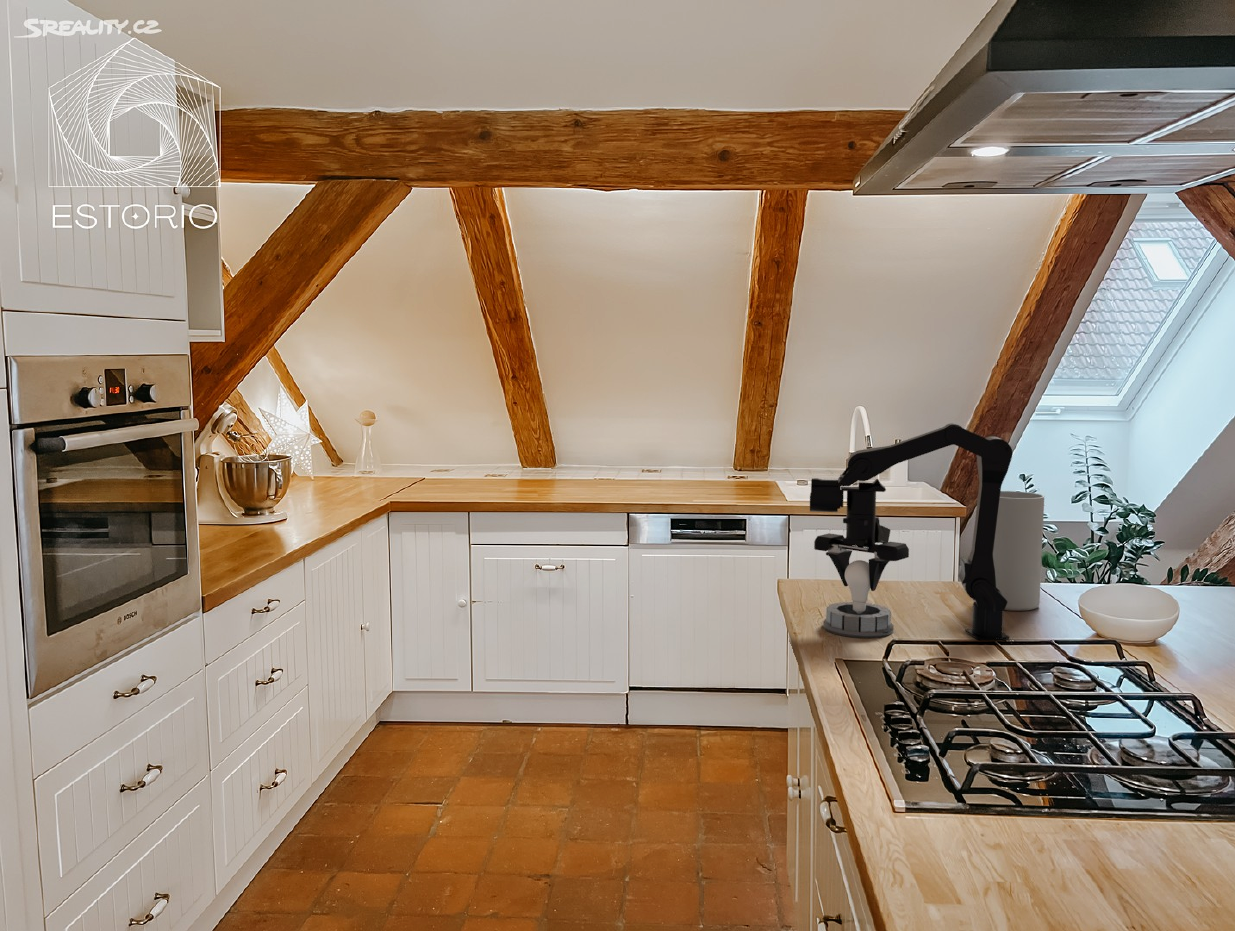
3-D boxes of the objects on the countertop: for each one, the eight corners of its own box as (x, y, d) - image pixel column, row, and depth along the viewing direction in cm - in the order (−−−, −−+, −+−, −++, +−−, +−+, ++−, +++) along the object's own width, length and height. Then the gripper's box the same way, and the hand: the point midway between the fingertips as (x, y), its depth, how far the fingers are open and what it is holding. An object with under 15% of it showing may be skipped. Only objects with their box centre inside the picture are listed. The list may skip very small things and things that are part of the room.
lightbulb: (872, 609, 201) (873, 557, 200) (876, 617, 195) (878, 563, 194) (842, 609, 202) (843, 557, 201) (846, 616, 196) (847, 563, 195)
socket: (903, 637, 192) (904, 617, 192) (834, 638, 191) (834, 619, 191) (880, 619, 206) (880, 600, 206) (815, 620, 205) (815, 601, 205)
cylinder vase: (1047, 604, 218) (1052, 494, 216) (1026, 614, 209) (1031, 500, 207) (993, 595, 227) (997, 489, 224) (970, 605, 218) (974, 495, 215)
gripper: (922, 513, 196) (921, 588, 197) (841, 504, 209) (840, 575, 210) (895, 519, 188) (893, 598, 189) (813, 510, 201) (812, 584, 202)
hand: (859, 588), depth 198 cm, fingers closed on lightbulb, 6 cm apart
